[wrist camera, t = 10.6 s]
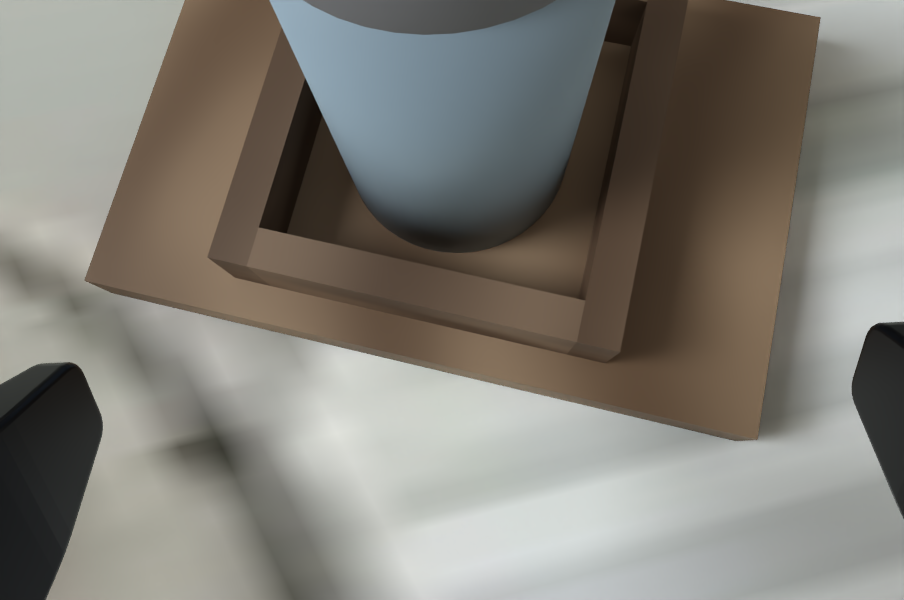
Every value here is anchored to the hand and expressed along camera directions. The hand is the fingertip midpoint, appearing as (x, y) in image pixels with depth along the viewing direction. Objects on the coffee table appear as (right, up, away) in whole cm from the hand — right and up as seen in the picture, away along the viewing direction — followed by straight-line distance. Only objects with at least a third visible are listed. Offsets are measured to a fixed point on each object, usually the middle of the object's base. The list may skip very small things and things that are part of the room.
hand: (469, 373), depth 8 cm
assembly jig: (0, +5, +13) cm, 14 cm away
